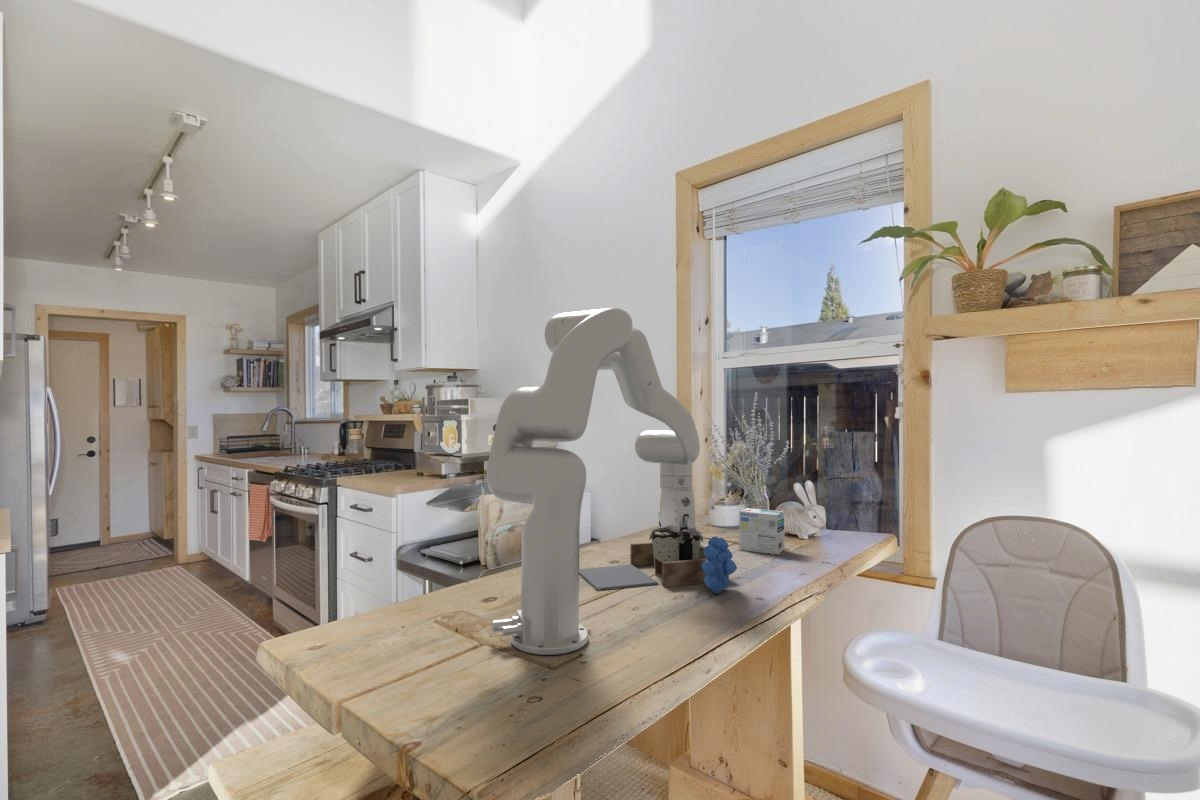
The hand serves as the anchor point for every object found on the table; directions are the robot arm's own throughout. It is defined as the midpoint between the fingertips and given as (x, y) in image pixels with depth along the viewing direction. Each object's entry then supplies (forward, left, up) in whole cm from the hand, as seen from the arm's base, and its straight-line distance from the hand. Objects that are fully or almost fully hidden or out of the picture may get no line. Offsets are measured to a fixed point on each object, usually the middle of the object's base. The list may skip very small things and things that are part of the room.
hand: (675, 555), depth 139 cm
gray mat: (-15, 0, -4) cm, 16 cm away
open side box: (0, 0, -4) cm, 4 cm away
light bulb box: (+32, +12, -4) cm, 34 cm away
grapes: (+2, -18, -4) cm, 18 cm away
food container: (0, 0, -4) cm, 4 cm away
